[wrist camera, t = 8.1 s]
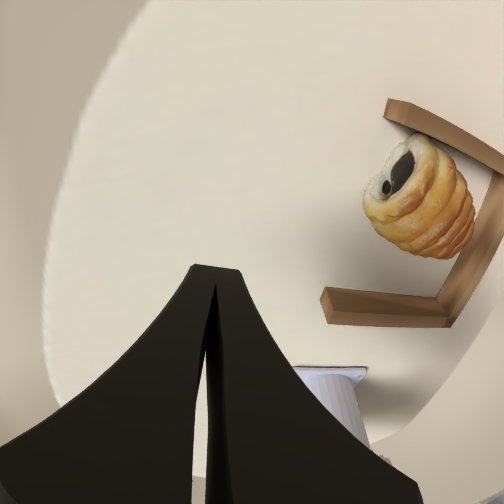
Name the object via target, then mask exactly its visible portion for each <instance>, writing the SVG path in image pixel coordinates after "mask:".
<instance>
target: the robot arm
mask: <svg viewBox="0 0 504 504" xmlns="http://www.w3.org/2000/svg"><path fill="white" fill-rule="evenodd" d="M205 352H206V380H207V406H208V443H207V466H206V492H205V504H424V503H423V499H422V496H421V493H420V490H419V487H418V484H417V483H416V482H415V481H414V480H412V479H411V478H409V477H408V476H406V475H405V474H403V473H402V472H400V471H399V470H397V469H396V468H394V467H393V466H392V464H391V461H390V460H389V459H388V458H386V457H383V455H380V456H377V455H376V454H375V453H374V452H373V450H371V449H370V445H369V441H368V438H367V434H366V430H365V427H364V423H363V420H362V416H361V413H360V409H359V406H358V402H357V399H356V396H355V392H354V388H355V387H356V386H357V385H358V383H359V382H360V381H361V379H362V378H363V377H364V375H365V374H366V372H367V371H366V368H303V367H294V368H292V366H291V365H290V363H289V362H288V361H287V359H286V358H285V356H284V355H283V353H282V352H281V350H280V349H279V347H278V345H277V344H276V342H275V341H274V339H273V337H272V336H271V334H270V332H269V331H268V329H267V327H266V325H265V323H264V322H263V320H262V318H261V316H260V314H259V312H258V310H257V308H256V306H255V304H254V302H253V300H252V298H251V296H250V294H249V291H248V289H247V287H246V284H245V282H244V279H243V276H242V274H241V272H240V271H239V270H236V269H228V268H221V267H214V266H207V265H200V264H194V265H192V266H190V268H189V271H188V273H187V274H186V276H185V278H184V280H183V281H182V283H181V285H180V286H179V288H178V289H177V291H176V292H175V294H174V295H173V296H172V298H171V299H170V300H169V302H168V303H167V304H166V306H165V307H164V308H163V310H162V311H161V312H160V314H159V315H158V316H157V317H156V319H155V320H154V321H153V322H152V323H151V324H150V326H149V327H148V328H147V329H146V330H145V332H144V333H143V334H142V335H141V336H140V337H139V338H138V340H137V341H136V342H135V343H134V344H133V345H132V346H131V347H130V348H129V349H128V350H127V351H126V352H125V353H124V354H123V355H122V356H121V357H120V358H119V359H118V360H117V361H116V362H115V363H114V364H113V365H112V366H111V367H110V368H109V369H108V370H106V371H105V372H104V373H103V374H102V375H101V376H100V377H99V378H98V379H96V380H95V381H94V382H93V383H92V384H91V385H90V386H88V387H87V388H86V389H85V390H84V391H82V392H81V393H80V394H79V395H77V396H76V397H75V398H73V399H72V400H71V401H69V402H68V403H67V404H65V405H64V406H63V407H61V408H60V409H59V410H57V411H56V412H55V413H53V414H52V415H51V416H49V417H48V418H46V419H45V420H43V421H42V422H40V423H39V424H38V425H36V426H34V427H33V428H31V429H29V430H28V431H26V432H24V433H23V434H21V435H19V436H18V437H16V438H14V439H13V440H11V441H10V442H8V443H6V444H4V445H2V446H1V447H0V504H191V498H192V497H191V496H192V465H193V443H194V425H195V409H196V401H197V395H198V390H199V384H200V379H201V373H202V368H203V363H204V357H205ZM476 504H504V489H503V490H502V491H500V492H498V493H496V494H495V495H493V496H491V497H488V498H486V499H484V500H483V501H481V502H479V503H476Z"/></svg>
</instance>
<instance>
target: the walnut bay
mask: <svg viewBox="0 0 504 504" xmlns="http://www.w3.org/2000/svg"><path fill="white" fill-rule="evenodd" d="M383 117H384V118H387V119H389V120H392V121H394V122H397V123H399V124H402V125H404V126H407V127H409V128H412V129H414V130H416V131H419V132H421V133H423V134H426V135H428V136H430V137H432V138H434V139H436V140H438V141H440V142H443V143H445V144H447V145H449V146H451V147H453V148H455V149H457V150H459V151H461V152H462V153H464V154H466V155H468V156H470V157H472V158H474V159H475V160H477V161H479V162H481V163H483V164H484V165H486V166H488V167H489V168H491V169H493V170H495V172H494V175H493V178H492V180H491V183H490V186H489V189H488V191H487V194H486V197H485V199H484V202H483V204H482V207H481V209H480V211H479V214H478V216H477V219H476V221H475V223H474V232H473V234H472V239H471V241H470V242H469V243H467V244H466V245H464V247H463V249H462V251H461V253H460V255H459V257H458V259H457V261H456V263H455V265H454V267H453V268H452V270H451V272H450V274H449V276H448V278H447V279H446V281H445V283H444V285H443V287H442V288H441V290H440V292H439V293H438V295H437V297H436V298H430V297H419V296H408V295H398V294H387V293H377V292H368V291H358V290H349V289H340V288H331V287H325V288H324V291H323V293H322V295H321V298H320V302H321V305H322V308H323V311H324V314H325V317H326V320H327V323H328V324H336V325H353V326H375V327H411V328H451V326H452V325H453V323H454V322H455V320H456V319H457V317H458V316H459V314H460V313H461V311H462V310H463V308H464V307H465V305H466V304H467V302H468V300H469V299H470V297H471V295H472V294H473V292H474V291H475V289H476V287H477V285H478V284H479V282H480V280H481V279H482V277H483V275H484V273H485V271H486V270H487V268H488V266H489V264H490V262H491V260H492V258H493V256H494V254H495V252H496V250H497V248H498V246H499V244H500V242H501V240H502V238H503V236H504V155H502V154H501V153H499V152H498V151H497V150H495V149H494V148H492V147H490V146H489V145H487V144H486V143H484V142H483V141H481V140H479V139H478V138H476V137H474V136H473V135H471V134H469V133H468V132H466V131H464V130H463V129H461V128H459V127H457V126H456V125H454V124H452V123H450V122H448V121H446V120H444V119H443V118H441V117H439V116H437V115H435V114H433V113H431V112H429V111H427V110H425V109H423V108H421V107H418V106H416V105H414V104H412V103H409V102H404V101H399V100H394V99H389V98H388V101H387V105H386V109H385V112H384V116H383Z"/></svg>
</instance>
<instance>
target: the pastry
mask: <svg viewBox="0 0 504 504" xmlns="http://www.w3.org/2000/svg"><path fill="white" fill-rule="evenodd" d="M472 203H473V198H472V196H471V194H470V192H469V191H468V189H467V182H466V180H465V179H464V177H463V175H462V174H461V173H460V172H459V171H458V170H457V169H456V165H455V162H454V160H453V159H452V158H451V156H450V155H448V154H447V153H446V152H444V151H443V150H441V149H439V148H438V147H437V146H436V145H435V144H434V143H432V142H431V140H430V139H429V137H428V136H427V135H426V134H423V133H415V134H413V135H411V136H410V137H408V138H406V140H405V141H404V142H403V143H399V144H398V145H397V147H396V148H395V149H394V150H393V151H392V152H391V154H390V156H389V158H388V160H387V161H386V163H385V165H384V168H383V170H382V172H380V173H379V174H378V175H376V176H375V177H374V178H373V179H372V181H371V182H370V183H369V185H368V186H367V187H366V189H365V193H364V198H363V206H364V210H365V213H366V216H367V217H368V218H369V219H370V221H371V222H372V224H373V226H374V229H375V231H376V232H377V233H378V234H379V235H380V236H383V237H384V238H386V239H387V240H388V241H390V242H392V243H394V244H396V245H397V246H398V247H399V248H400V249H402V250H403V251H408V252H410V253H412V254H414V255H421V256H423V257H433V258H437V259H450V258H452V257H453V256H454V255H455V254H456V253H458V252H459V251H460V250H461V249H462V247H463V246H464V245H466V244H467V243H469V242H470V241H471V239H472V234H473V232H474V216H475V209H474V206H473V204H472Z"/></svg>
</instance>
